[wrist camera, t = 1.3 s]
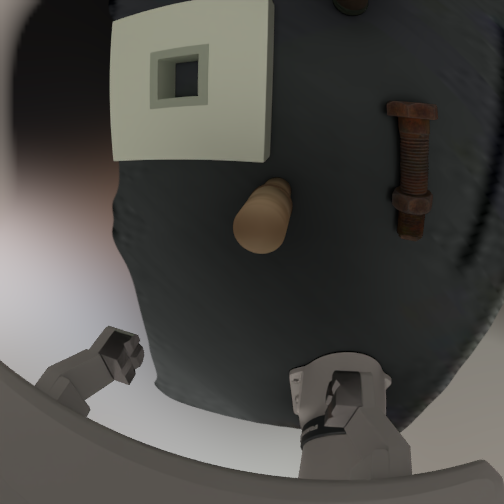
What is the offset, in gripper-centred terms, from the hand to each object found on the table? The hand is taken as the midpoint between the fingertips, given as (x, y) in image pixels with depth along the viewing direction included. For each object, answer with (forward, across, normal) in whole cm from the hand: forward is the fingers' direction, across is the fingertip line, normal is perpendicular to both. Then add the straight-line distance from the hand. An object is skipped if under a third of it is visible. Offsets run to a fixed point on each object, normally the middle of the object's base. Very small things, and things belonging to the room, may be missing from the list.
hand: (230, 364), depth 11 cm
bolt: (+25, -14, -4) cm, 28 cm away
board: (+25, +11, -12) cm, 30 cm away
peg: (+24, +1, +1) cm, 24 cm away
